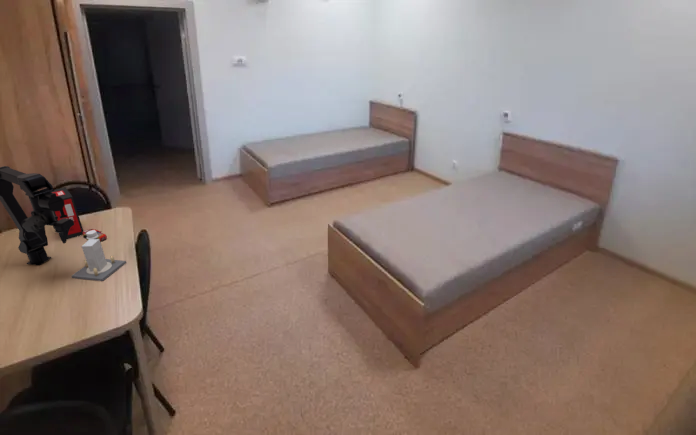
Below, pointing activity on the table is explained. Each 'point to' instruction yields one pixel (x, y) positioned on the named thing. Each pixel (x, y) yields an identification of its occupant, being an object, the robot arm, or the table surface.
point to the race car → (101, 235)
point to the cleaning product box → (69, 212)
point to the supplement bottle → (92, 235)
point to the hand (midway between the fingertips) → (54, 242)
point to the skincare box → (94, 254)
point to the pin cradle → (99, 275)
